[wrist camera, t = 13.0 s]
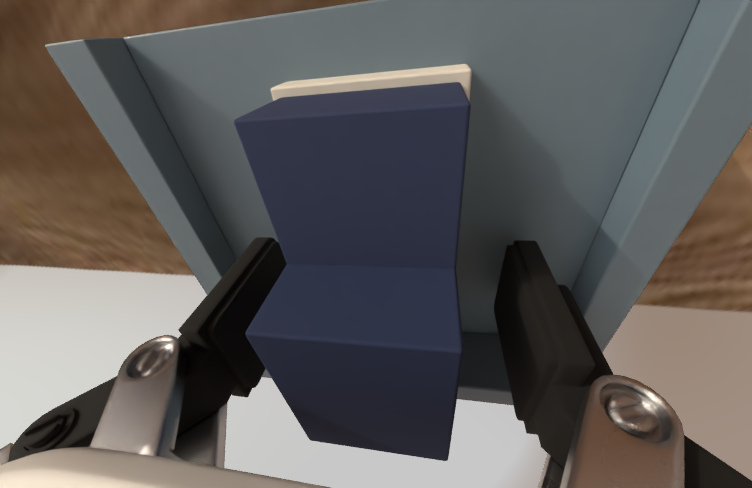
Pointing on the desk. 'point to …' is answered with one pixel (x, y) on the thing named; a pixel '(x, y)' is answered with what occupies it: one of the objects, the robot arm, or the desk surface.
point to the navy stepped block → (365, 253)
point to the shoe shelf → (485, 136)
